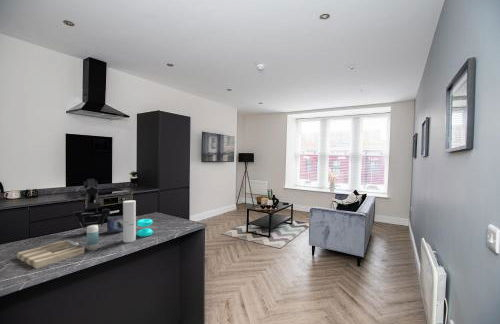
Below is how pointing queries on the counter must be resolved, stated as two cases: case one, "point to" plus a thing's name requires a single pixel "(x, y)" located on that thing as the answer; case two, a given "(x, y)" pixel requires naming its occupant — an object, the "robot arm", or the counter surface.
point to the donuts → (145, 231)
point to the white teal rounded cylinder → (92, 237)
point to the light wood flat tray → (49, 254)
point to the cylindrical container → (129, 221)
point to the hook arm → (72, 243)
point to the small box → (114, 224)
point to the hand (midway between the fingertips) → (92, 226)
